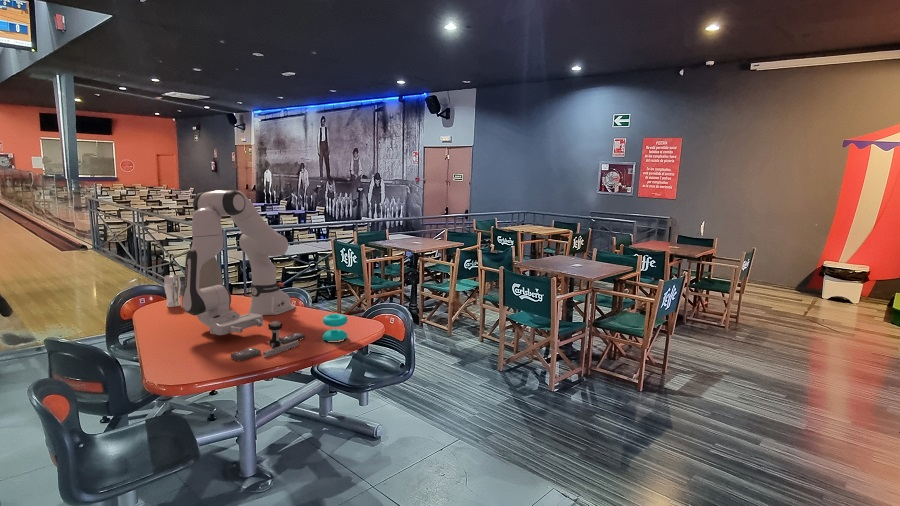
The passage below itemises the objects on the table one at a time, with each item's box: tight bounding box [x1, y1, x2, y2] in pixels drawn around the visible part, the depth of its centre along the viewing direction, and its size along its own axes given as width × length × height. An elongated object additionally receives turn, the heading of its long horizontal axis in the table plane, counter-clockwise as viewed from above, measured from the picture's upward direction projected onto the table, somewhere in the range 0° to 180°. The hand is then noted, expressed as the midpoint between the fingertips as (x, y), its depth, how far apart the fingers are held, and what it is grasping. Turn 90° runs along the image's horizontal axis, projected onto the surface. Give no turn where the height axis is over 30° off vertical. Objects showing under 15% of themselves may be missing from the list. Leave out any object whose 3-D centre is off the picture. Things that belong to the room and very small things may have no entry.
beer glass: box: [163, 274, 181, 308], centre depth 237 cm, size 7×7×15 cm
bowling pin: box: [199, 256, 223, 289], centre depth 241 cm, size 11×12×38 cm
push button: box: [267, 320, 283, 349], centre depth 188 cm, size 7×5×10 cm
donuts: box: [322, 313, 348, 342], centre depth 199 cm, size 10×10×10 cm
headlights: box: [230, 332, 306, 362], centre depth 186 cm, size 31×9×2 cm, turn 150°
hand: (251, 327), depth 191 cm, fingers open, 8 cm apart
